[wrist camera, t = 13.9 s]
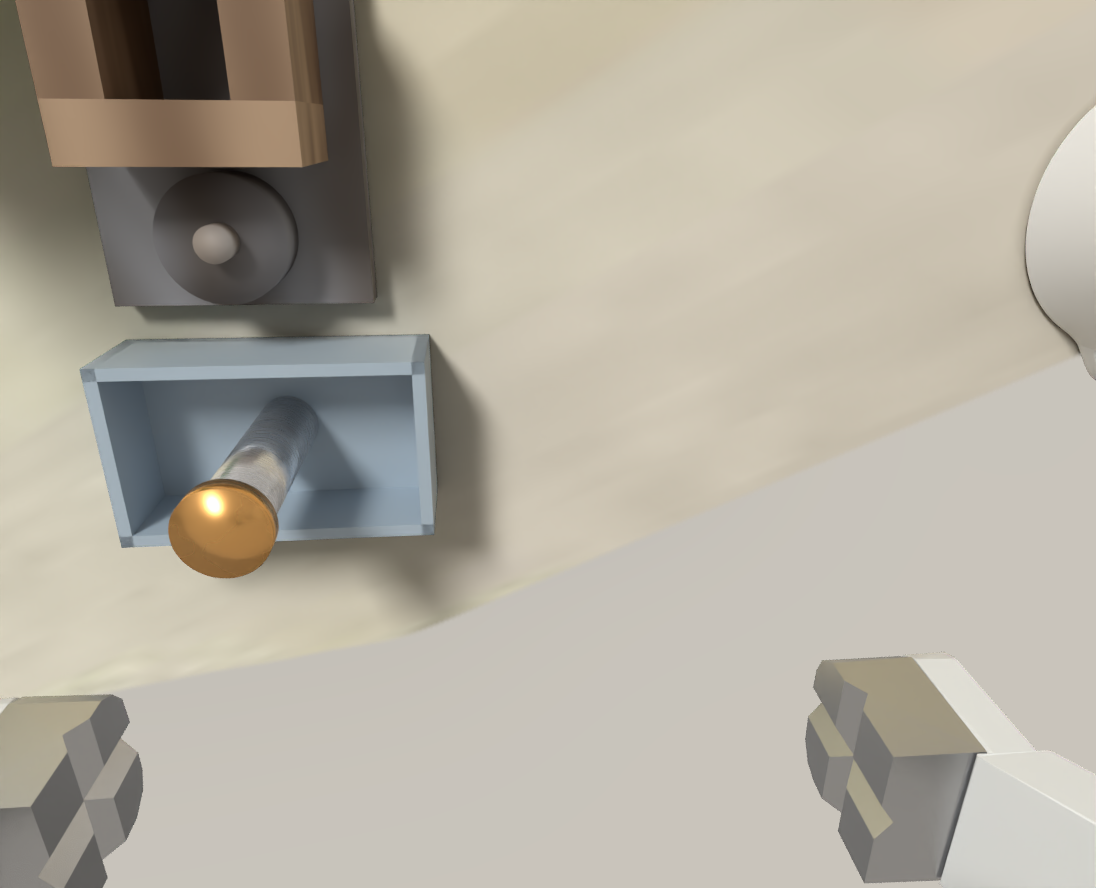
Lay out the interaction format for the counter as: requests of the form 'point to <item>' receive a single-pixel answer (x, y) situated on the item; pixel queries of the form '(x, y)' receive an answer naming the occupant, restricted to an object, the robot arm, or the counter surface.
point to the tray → (234, 403)
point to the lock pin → (245, 494)
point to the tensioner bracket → (212, 144)
